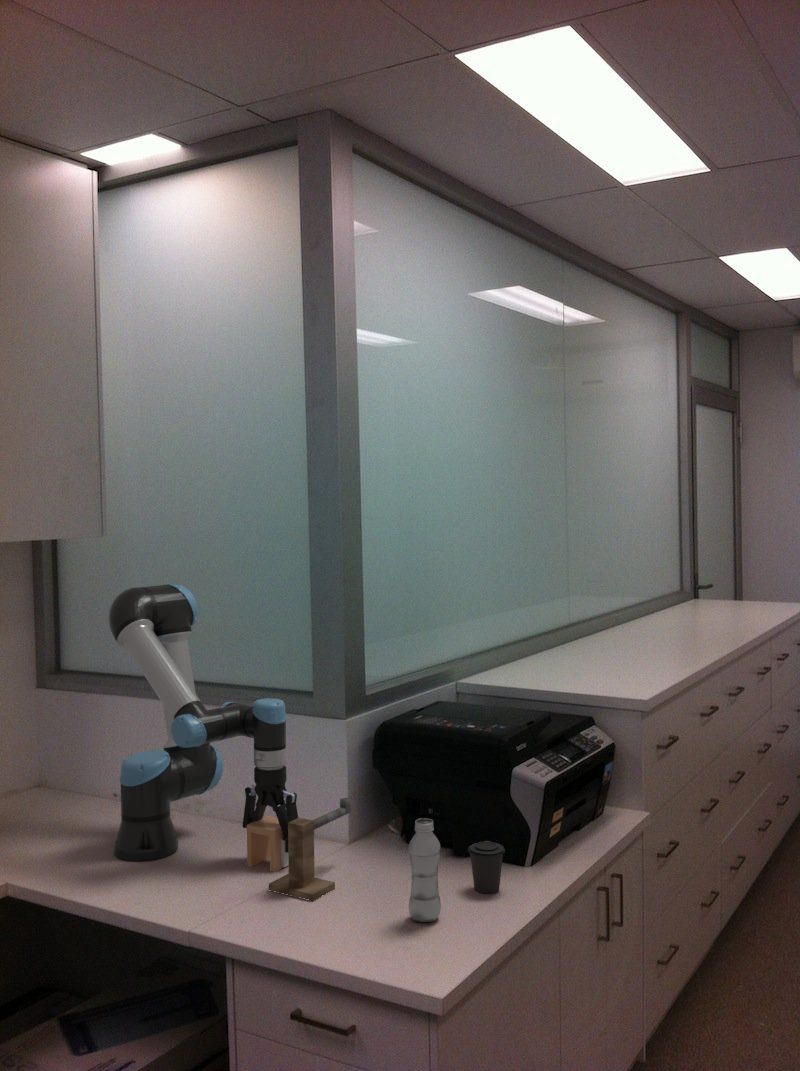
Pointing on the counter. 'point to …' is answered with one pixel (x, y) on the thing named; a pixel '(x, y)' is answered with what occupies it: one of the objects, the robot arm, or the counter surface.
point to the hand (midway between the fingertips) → (271, 862)
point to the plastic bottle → (424, 873)
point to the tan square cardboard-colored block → (264, 842)
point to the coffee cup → (486, 866)
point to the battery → (460, 845)
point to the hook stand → (306, 857)
